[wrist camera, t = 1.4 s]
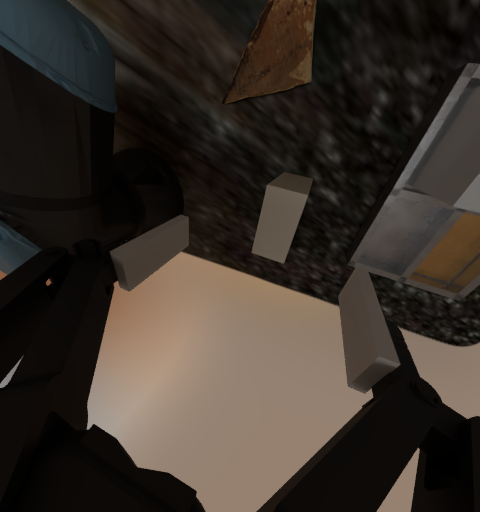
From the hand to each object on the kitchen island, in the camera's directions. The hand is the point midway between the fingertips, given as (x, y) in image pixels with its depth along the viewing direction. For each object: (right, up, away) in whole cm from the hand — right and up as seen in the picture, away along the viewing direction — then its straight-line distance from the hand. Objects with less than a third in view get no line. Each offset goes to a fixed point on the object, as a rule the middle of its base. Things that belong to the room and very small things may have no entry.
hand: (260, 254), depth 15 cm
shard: (+3, +21, +7) cm, 23 cm away
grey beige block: (+6, +8, +13) cm, 17 cm away
